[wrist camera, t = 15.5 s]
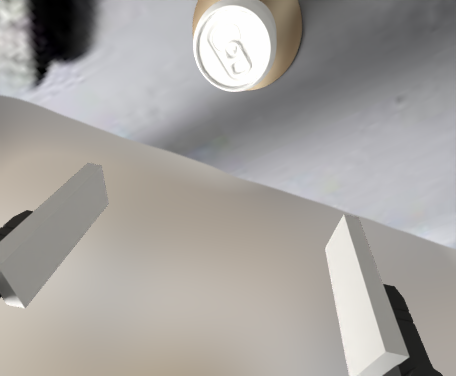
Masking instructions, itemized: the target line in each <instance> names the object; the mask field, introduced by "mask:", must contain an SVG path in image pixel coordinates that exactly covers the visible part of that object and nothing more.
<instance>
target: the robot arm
mask: <svg viewBox="0 0 456 376" xmlns="http://www.w3.org/2000/svg"><path fill="white" fill-rule="evenodd" d="M107 205H108V198H107V192H106V187H105V181H104V176H103V170H102V166H101V165H96V164H91V163H87V164H86V165H85V166H84V167H83V168H82V169H81V170H79V172H77V173H76V174H75V175H74V176H73V177H72V178H70V179H69V180H68V181H67V182H66V183H65V184H64V185H63V186H62V187H61V188H59V189H58V190H57V191H56V192H55V193H54V194H53V195H52V196H50V197H49V198H48V199H47V200H46V201H45V202H44V203H43V204H42V205H40V206H39V207H38V208H37V209H36V210H35V211H34V212H33V211H28V210H26V211H24V212H22V213H20V214H18V215H16V216H14V217H13V218H12V219H11V220H9V221H8V222H7V223H6V224H5V225H4V226H3V227H1V228H0V298H1V297H2V298H3V300H4V301H5V302H6V304H8V305H12V306H16V307H21V308H26V307H27V305H28V304H29V303H30V302H31V300H32V299H33V298H34V297H35V295H36V294H37V293H38V292H39V290H40V289H41V288H42V286H43V285H44V284H45V283H46V282H47V280H48V279H49V278H50V277H51V275H52V274H53V273H54V272H55V270H56V269H57V268H58V266H59V265H60V264H61V263H62V262H63V260H64V259H65V258H66V256H67V255H68V254H69V253H70V252H71V250H72V249H73V248H74V247H75V245H76V244H77V243H78V242H79V240H80V239H81V238H82V237H83V235H84V234H85V233H86V231H87V230H88V229H89V228H90V227H91V225H92V224H93V223H94V221H95V220H96V219H97V218H98V217H99V215H100V214H101V213H102V212H103V210H104V209H105V208H106V207H107ZM325 251H326V256H327V261H328V266H329V272H330V277H331V283H332V288H333V293H334V298H335V303H336V309H337V314H338V320H339V324H340V330H341V335H342V341H343V346H344V351H345V357H346V362H347V367H348V372H349V376H443V375H442V374H441V373H440V372H438V371H436V370H435V369H434V368H433V367H432V364H431V363H430V360H429V358H428V355H427V353H426V351H425V348H424V346H423V343H422V341H421V339H420V336H419V334H418V331H417V329H416V327H415V325H414V324H413V319H412V317H411V314H410V313H409V310H408V307H407V305H406V302H405V300H404V298H403V297H402V295H401V294H400V293H399V292H398V290H397V289H396V288H395V287H394V286H390V285H385V284H383V283H382V280H381V277H380V274H379V272H378V269H377V266H376V264H375V261H374V258H373V255H372V253H371V250H370V247H369V244H368V242H367V239H366V236H365V233H364V231H363V228H362V225H361V222H360V220H359V217H356V216H351V215H346V214H344V215H343V217H342V219H341V220H340V222H339V224H338V226H337V228H336V229H335V231H334V233H333V235H332V237H331V238H330V240H329V242H328V244H327V246H326V248H325Z"/></svg>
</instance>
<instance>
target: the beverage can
mask: <svg viewBox="0 0 456 376" xmlns="http://www.w3.org/2000/svg"><path fill="white" fill-rule="evenodd" d="M276 47H277V39H276V24H275V20H274V17H273V15H272V13H271V11H270V10H269V9H268V7H267V6H266V5H265V4H264V3H262V2H261V1H259V0H220V1H218V2H216V3H215V4H213V5H212V6H210V7H209V8H208V9H207V10H206V11H205V12H204V14H203V15H202V16H201V18H200V20H199V22H198V24H197V27H196V30H195V33H194V40H193V49H194V56H195V59H196V62H197V65H198V67H199V69H200V71H201V72H202V74H203V75H204V77H205V78H206V79H207V80H208V81H209V82H210V83H212V84H213V85H214V86H216V87H218V88H220V89H223V90H226V91H232V92H239V91H244V90H247V89H250V88H252V87H254V86H256V85H257V84H258V83H260V82H261V81H262V80H263V79H264V78H265V77H266V75H267V74H268V72H269V71H270V69H271V67H272V65H273V62H274V59H275V55H276Z"/></svg>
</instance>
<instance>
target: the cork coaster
mask: <svg viewBox="0 0 456 376" xmlns="http://www.w3.org/2000/svg"><path fill="white" fill-rule="evenodd" d="M218 1H220V0H198V2H197V5H196V8H195V12H194V17H193V40H194V33H195V30H196V27H197V24H198V22H199V20H200V18H201V16H202V15H203V14H204V12H205V11H206V10H207V9H208V8H209V7H210V6H212V5H213V4H215V3H216V2H218ZM259 1H261V2H262V3H264V4H265V5H266V6H267V7H268V9H269V10H270V11H271V13H272V15H273V17H274V20H275V24H276V39H277V47H276V55H275V59H274V62H273V65H272V67H271V69H270V71H269V72H268V74H267V75H266V77H265V78H264V79H263V80H262V81H261V82H260V83H258V84H257V85H256V86H254V87H252V88H250V89H247V90H255V89H259V88H262V87H265V86H267V85H269V84H271V83H272V82H274V81H275V80H277V79H278V78H279V77H280V76H281V75H282V74H283V73H284V72H285V71H286V70H287V69H288V67H289V66H290V65H291V63H292V61H293V60H294V58H295V55H296V53H297V51H298V48H299V45H300V40H301V34H302V16H301V10H300V6H299V3H298V0H259Z"/></svg>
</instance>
